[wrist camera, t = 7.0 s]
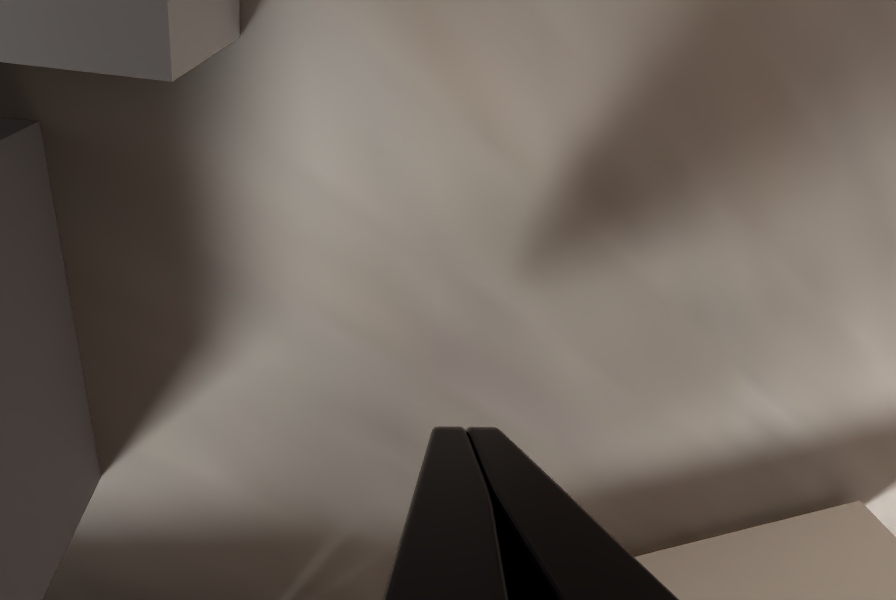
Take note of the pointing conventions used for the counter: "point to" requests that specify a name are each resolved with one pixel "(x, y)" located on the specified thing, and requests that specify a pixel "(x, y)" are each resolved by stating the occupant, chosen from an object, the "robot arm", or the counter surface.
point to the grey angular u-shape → (117, 35)
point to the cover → (786, 560)
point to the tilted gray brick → (37, 377)
